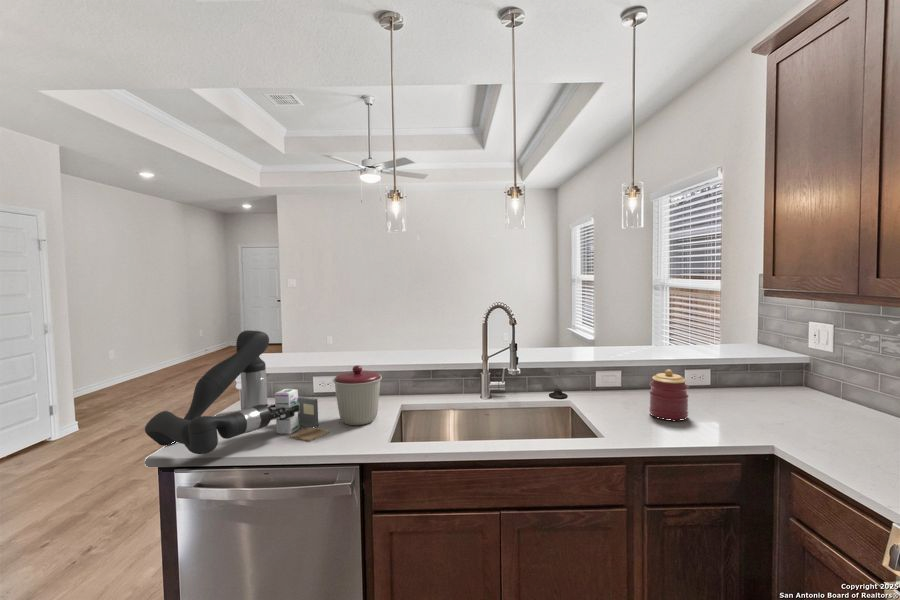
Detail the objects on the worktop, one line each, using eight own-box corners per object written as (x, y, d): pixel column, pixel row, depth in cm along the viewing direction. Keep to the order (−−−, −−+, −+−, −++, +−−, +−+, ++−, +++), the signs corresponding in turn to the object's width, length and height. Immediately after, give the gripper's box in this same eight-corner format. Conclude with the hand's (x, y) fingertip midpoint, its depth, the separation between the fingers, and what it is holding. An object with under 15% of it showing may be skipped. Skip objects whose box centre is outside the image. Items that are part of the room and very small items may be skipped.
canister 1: (327, 429, 154) (325, 371, 153) (341, 413, 172) (340, 361, 171) (378, 429, 153) (376, 370, 152) (387, 413, 171) (385, 360, 170)
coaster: (290, 437, 147) (290, 435, 147) (309, 428, 155) (309, 427, 155) (310, 441, 143) (310, 439, 143) (328, 432, 152) (328, 430, 152)
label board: (285, 424, 161) (284, 397, 160) (291, 421, 164) (290, 395, 163) (311, 428, 155) (310, 401, 155) (318, 425, 158) (317, 398, 158)
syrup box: (291, 434, 150) (289, 393, 150) (276, 433, 152) (274, 392, 151) (300, 428, 156) (298, 388, 155) (285, 427, 157) (283, 388, 156)
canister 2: (665, 408, 170) (665, 364, 169) (696, 418, 159) (696, 370, 158) (641, 413, 165) (641, 368, 164) (671, 424, 153) (672, 375, 152)
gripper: (236, 427, 143) (275, 414, 158) (267, 433, 137) (305, 419, 152) (235, 405, 143) (275, 394, 158) (267, 410, 136) (305, 398, 151)
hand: (290, 406), depth 155 cm, fingers open, 7 cm apart
